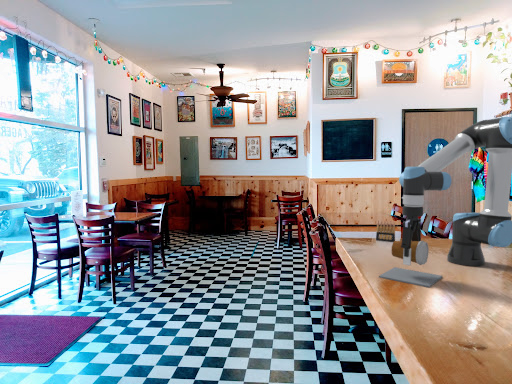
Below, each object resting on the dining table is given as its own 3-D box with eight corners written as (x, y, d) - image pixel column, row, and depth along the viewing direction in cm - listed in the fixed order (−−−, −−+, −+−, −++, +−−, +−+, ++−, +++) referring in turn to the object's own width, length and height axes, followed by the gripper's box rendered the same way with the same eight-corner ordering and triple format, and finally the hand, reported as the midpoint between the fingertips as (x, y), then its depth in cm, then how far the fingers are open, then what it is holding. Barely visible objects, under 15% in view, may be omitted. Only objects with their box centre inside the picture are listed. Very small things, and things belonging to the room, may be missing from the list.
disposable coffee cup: (399, 251, 157) (429, 256, 149) (391, 264, 150) (422, 270, 142) (396, 232, 153) (427, 236, 145) (388, 245, 147) (420, 250, 139)
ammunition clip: (395, 241, 218) (395, 221, 218) (394, 242, 217) (395, 221, 216) (376, 239, 223) (376, 220, 223) (375, 240, 222) (376, 220, 221)
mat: (394, 268, 161) (394, 267, 161) (442, 277, 148) (442, 275, 148) (378, 277, 148) (378, 275, 148) (429, 287, 135) (429, 285, 135)
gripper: (412, 203, 156) (410, 256, 158) (393, 207, 141) (391, 266, 142) (431, 204, 151) (428, 259, 153) (413, 208, 136) (411, 269, 137)
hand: (410, 262), depth 148 cm, fingers closed on disposable coffee cup, 8 cm apart
